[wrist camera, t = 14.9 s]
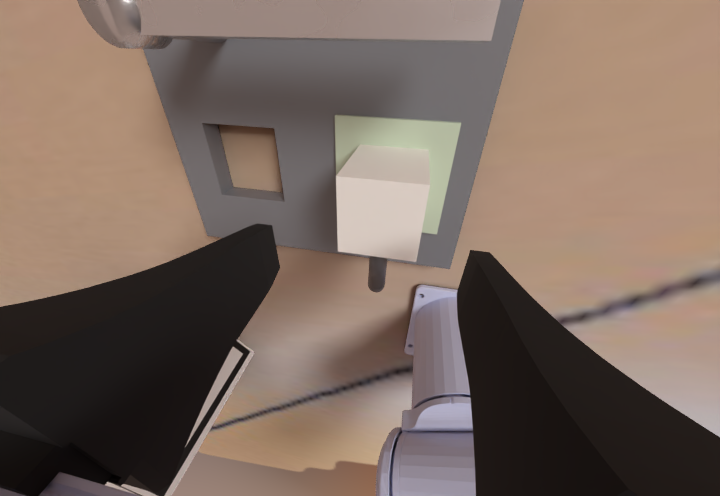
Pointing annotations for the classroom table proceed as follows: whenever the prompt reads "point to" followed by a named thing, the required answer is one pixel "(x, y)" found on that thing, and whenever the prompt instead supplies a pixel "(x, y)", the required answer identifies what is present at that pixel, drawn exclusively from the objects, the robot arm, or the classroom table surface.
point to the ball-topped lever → (290, 20)
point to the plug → (382, 205)
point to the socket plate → (332, 123)
